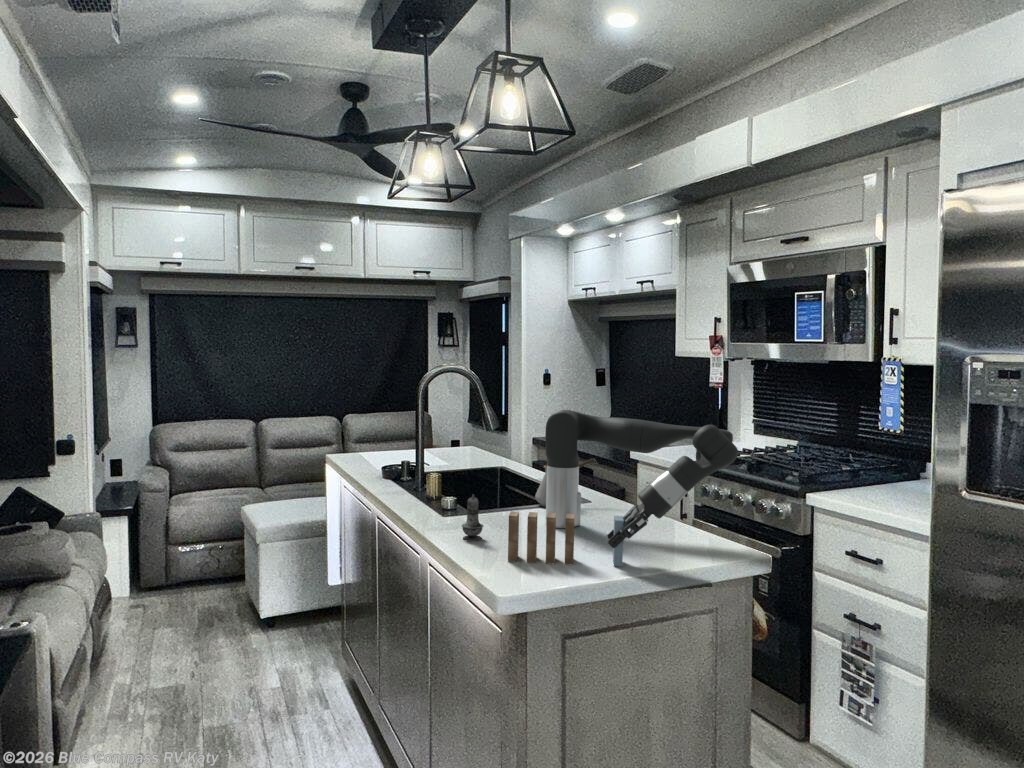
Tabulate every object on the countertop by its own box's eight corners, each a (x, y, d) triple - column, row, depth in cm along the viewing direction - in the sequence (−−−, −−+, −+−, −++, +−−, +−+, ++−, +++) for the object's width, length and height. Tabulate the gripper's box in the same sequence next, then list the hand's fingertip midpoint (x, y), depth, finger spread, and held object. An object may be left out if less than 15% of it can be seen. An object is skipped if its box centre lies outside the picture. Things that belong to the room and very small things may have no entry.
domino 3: (555, 558, 181) (556, 513, 180) (554, 563, 176) (555, 517, 175) (546, 557, 181) (547, 512, 180) (545, 563, 176) (546, 517, 175)
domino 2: (536, 557, 181) (537, 512, 180) (535, 562, 176) (536, 516, 176) (528, 556, 181) (529, 512, 181) (526, 562, 176) (527, 516, 176)
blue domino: (621, 561, 179) (622, 515, 178) (622, 567, 174) (623, 520, 173) (612, 560, 179) (614, 515, 179) (613, 566, 174) (614, 520, 174)
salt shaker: (461, 536, 200) (461, 491, 199) (482, 536, 200) (483, 491, 200) (461, 541, 194) (462, 496, 194) (483, 541, 195) (484, 496, 194)
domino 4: (573, 558, 180) (574, 514, 180) (573, 564, 175) (574, 518, 175) (565, 558, 180) (566, 513, 180) (564, 564, 175) (565, 518, 175)
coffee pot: (543, 510, 235) (545, 462, 234) (529, 502, 245) (530, 457, 244) (603, 506, 243) (604, 460, 242) (586, 499, 253) (587, 455, 253)
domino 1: (518, 556, 181) (519, 511, 181) (516, 561, 176) (517, 516, 176) (510, 555, 182) (510, 511, 181) (507, 561, 177) (508, 515, 176)
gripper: (677, 512, 168) (622, 562, 169) (670, 499, 182) (619, 545, 184) (654, 488, 168) (599, 538, 170) (649, 477, 182) (598, 523, 184)
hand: (610, 541), depth 177 cm, fingers closed on blue domino, 5 cm apart
